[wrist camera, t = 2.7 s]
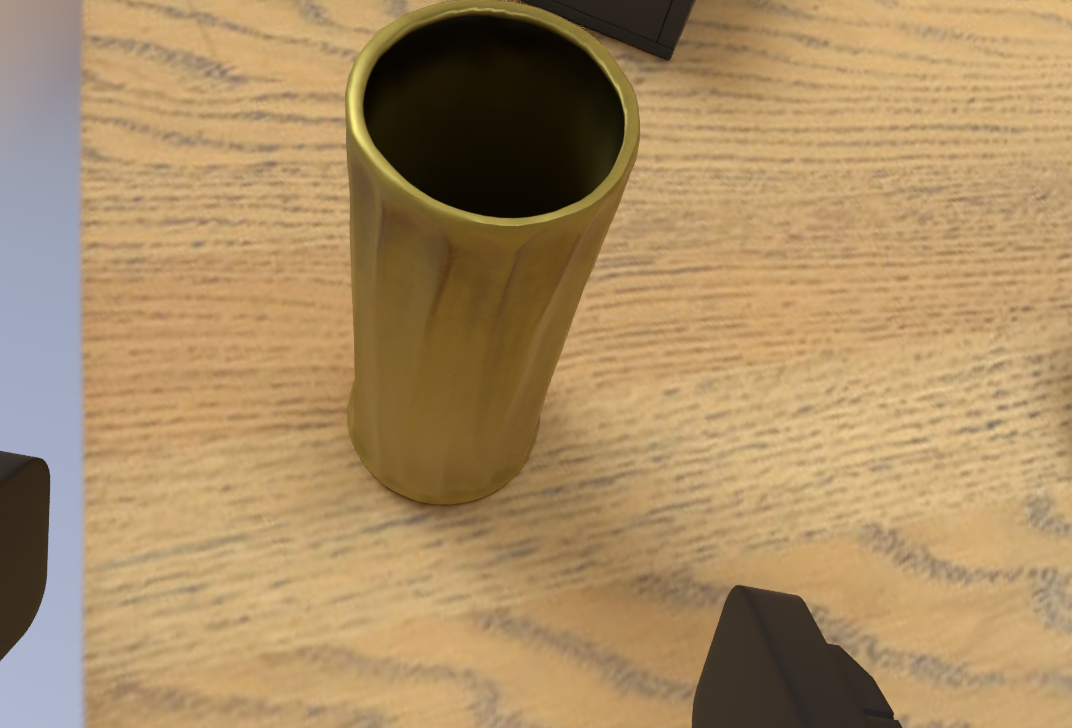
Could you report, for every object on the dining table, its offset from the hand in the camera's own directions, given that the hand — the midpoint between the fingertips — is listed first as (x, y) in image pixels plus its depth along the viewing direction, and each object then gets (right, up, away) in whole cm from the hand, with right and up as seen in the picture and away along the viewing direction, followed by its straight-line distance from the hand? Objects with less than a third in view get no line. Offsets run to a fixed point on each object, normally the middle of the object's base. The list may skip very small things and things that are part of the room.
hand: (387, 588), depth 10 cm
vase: (-1, +1, +17) cm, 18 cm away
